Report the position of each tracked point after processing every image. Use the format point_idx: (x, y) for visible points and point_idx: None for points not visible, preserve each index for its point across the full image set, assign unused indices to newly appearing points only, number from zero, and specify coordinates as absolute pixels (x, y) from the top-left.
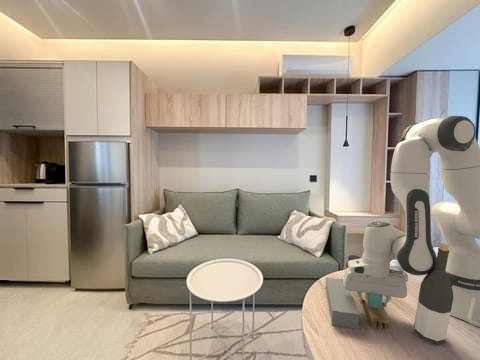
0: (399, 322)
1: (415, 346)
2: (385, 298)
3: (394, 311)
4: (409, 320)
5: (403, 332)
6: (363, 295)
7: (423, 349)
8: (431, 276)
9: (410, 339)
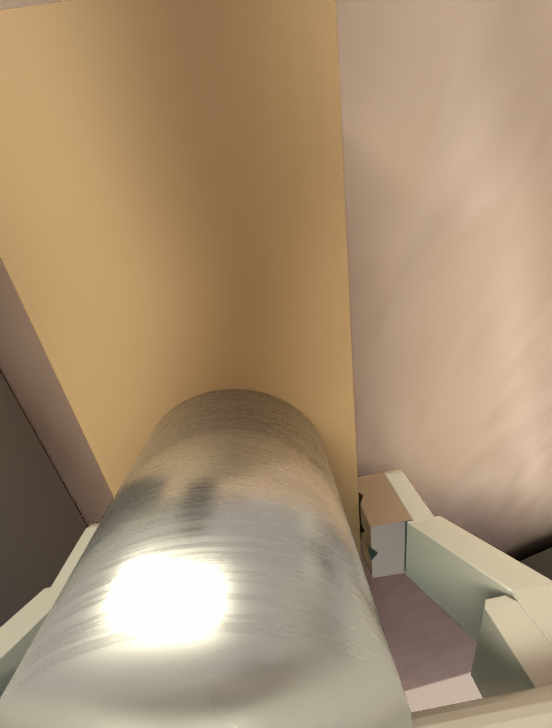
0: (438, 515)
1: (434, 653)
2: (455, 575)
3: (466, 377)
4: (532, 464)
5: (419, 592)
6: (111, 434)
7: (463, 655)
8: None
9: (433, 624)
